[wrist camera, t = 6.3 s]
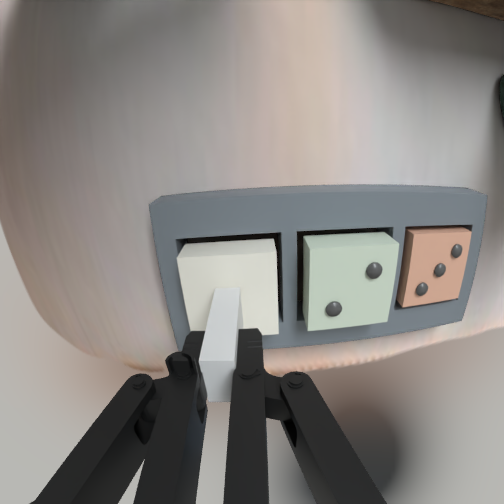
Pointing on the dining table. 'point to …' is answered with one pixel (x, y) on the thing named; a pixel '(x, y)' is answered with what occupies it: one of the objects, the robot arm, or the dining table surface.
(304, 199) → the console
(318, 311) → the button two
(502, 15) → the bread
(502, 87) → the coffee jar
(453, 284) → the button three
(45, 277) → the dining table surface
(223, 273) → the button one
